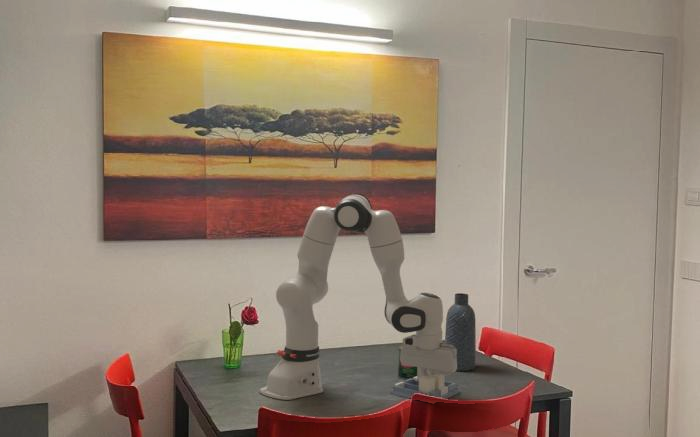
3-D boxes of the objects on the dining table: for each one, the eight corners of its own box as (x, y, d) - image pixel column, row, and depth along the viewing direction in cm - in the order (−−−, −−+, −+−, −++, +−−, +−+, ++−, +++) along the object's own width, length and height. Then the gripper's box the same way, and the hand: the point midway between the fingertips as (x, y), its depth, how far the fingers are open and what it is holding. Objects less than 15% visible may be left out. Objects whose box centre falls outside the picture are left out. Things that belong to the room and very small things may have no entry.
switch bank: (433, 404, 253) (433, 394, 252) (390, 393, 263) (390, 384, 263) (460, 392, 266) (460, 383, 266) (418, 382, 276) (418, 374, 276)
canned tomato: (401, 380, 279) (402, 350, 278) (394, 374, 287) (395, 345, 286) (422, 379, 281) (423, 349, 280) (415, 373, 289) (415, 344, 288)
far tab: (426, 385, 269) (427, 368, 268) (417, 383, 271) (417, 366, 271) (432, 383, 271) (432, 366, 271) (422, 381, 274) (423, 364, 273)
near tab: (428, 397, 255) (429, 379, 254) (418, 395, 257) (419, 377, 257) (434, 395, 258) (435, 377, 257) (424, 393, 260) (424, 375, 260)
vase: (474, 363, 304) (476, 292, 301) (476, 372, 292) (478, 297, 289) (443, 362, 305) (445, 291, 303) (443, 370, 293) (445, 296, 291)
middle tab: (438, 394, 259) (439, 376, 259) (428, 391, 262) (428, 374, 261) (444, 391, 262) (444, 374, 261) (434, 389, 264) (434, 372, 264)
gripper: (461, 343, 260) (459, 384, 261) (407, 335, 271) (406, 374, 272) (452, 347, 255) (451, 388, 256) (398, 338, 266) (397, 378, 267)
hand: (427, 381), depth 264 cm, fingers closed
